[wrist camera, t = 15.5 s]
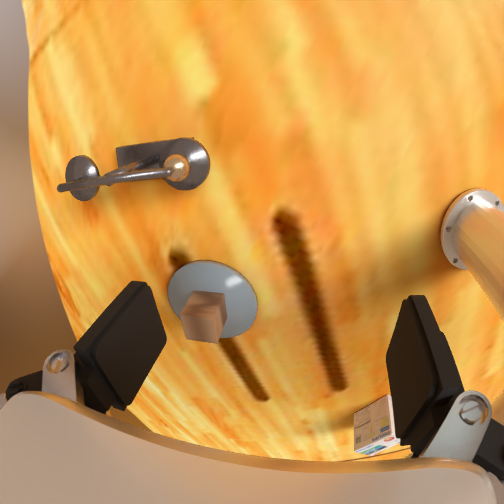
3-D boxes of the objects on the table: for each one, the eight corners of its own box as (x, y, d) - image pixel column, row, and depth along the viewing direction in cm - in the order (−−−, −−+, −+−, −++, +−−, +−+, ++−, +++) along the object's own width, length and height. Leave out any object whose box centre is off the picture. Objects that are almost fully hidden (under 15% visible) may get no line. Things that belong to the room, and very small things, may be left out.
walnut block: (224, 293, 43) (212, 318, 38) (227, 317, 46) (217, 343, 40) (193, 290, 44) (179, 314, 39) (198, 314, 47) (186, 338, 41)
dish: (256, 263, 41) (254, 267, 40) (259, 337, 48) (257, 342, 47) (162, 257, 44) (159, 260, 43) (179, 327, 51) (177, 331, 50)
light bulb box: (369, 420, 57) (371, 456, 47) (352, 413, 56) (352, 452, 47) (403, 400, 52) (409, 439, 42) (386, 393, 51) (391, 434, 41)
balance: (222, 131, 33) (180, 144, 22) (225, 177, 36) (187, 210, 25) (100, 147, 37) (39, 168, 26) (105, 183, 39) (49, 214, 28)
